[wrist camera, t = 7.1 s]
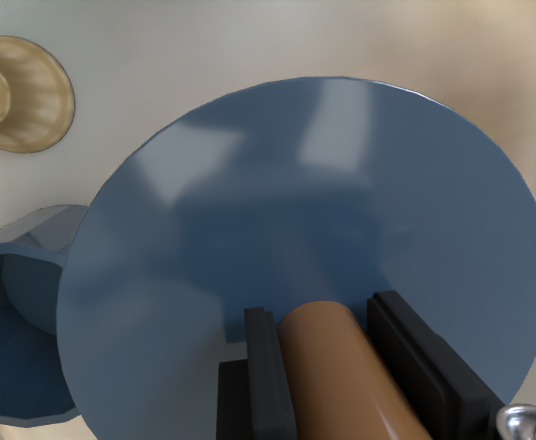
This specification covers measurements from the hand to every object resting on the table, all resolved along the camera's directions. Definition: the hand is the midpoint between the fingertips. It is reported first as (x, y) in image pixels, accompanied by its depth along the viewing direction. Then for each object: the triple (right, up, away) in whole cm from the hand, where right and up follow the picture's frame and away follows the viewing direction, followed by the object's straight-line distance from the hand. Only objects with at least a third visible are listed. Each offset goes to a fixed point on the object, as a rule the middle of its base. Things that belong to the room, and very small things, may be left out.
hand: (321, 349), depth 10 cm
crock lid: (0, 0, +1) cm, 1 cm away
